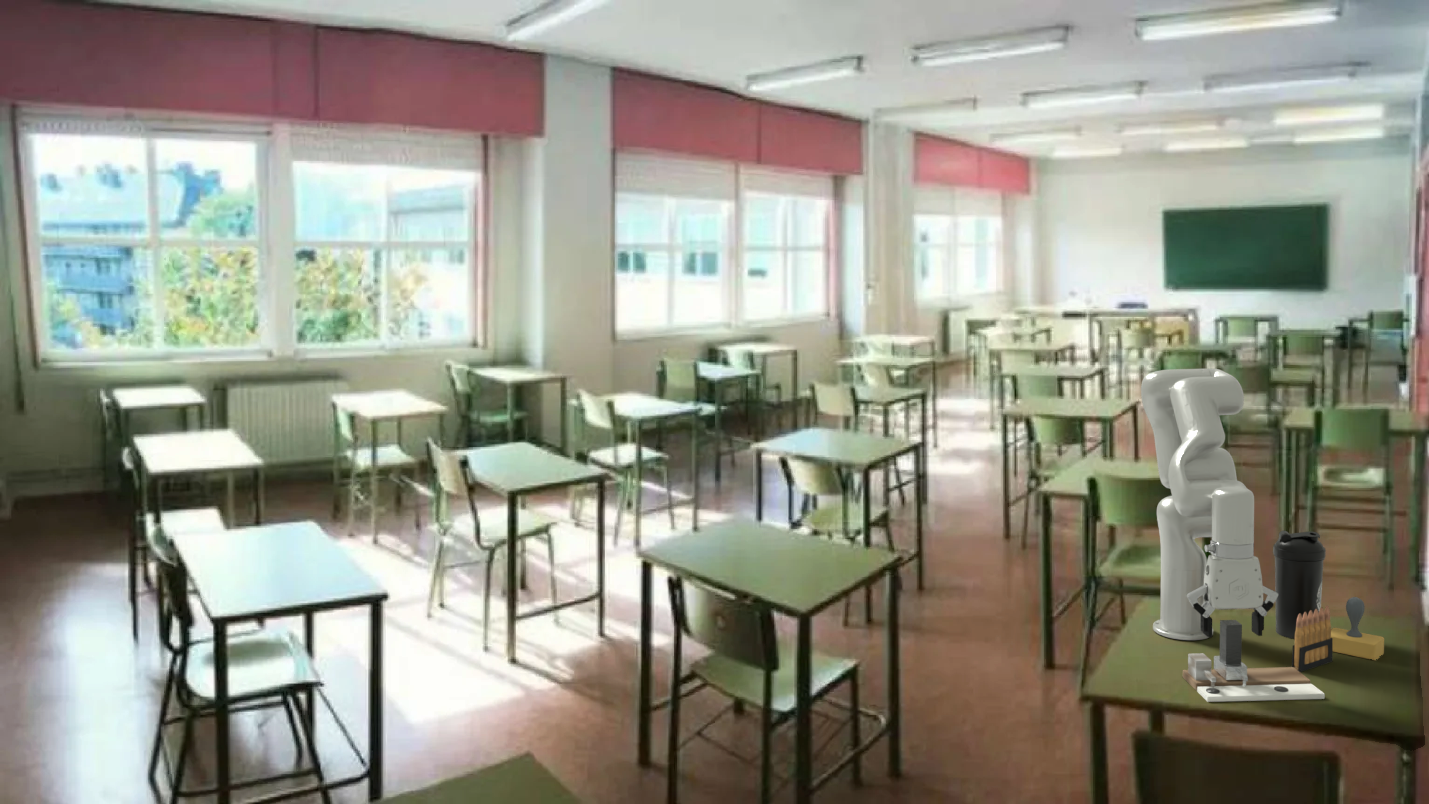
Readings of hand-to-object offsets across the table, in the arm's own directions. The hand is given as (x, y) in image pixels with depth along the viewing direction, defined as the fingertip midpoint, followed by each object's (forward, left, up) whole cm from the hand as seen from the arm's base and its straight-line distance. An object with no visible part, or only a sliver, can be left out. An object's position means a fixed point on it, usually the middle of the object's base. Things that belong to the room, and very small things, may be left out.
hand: (1232, 634), depth 217 cm
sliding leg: (+1, 0, -8) cm, 9 cm away
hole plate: (+6, +3, -10) cm, 12 cm away
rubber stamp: (-16, +32, -11) cm, 37 cm away
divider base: (+1, +3, -10) cm, 11 cm away
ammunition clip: (-9, +20, -11) cm, 24 cm away
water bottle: (-28, +26, -11) cm, 39 cm away
